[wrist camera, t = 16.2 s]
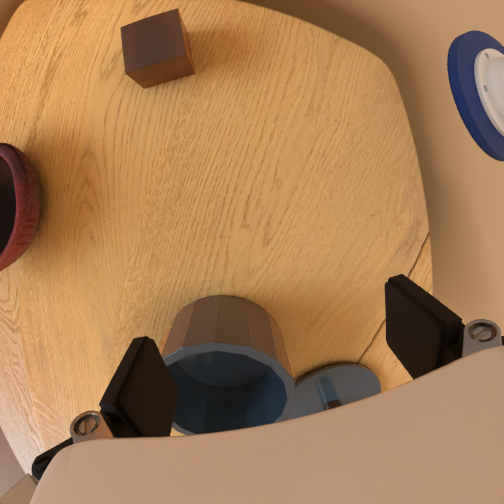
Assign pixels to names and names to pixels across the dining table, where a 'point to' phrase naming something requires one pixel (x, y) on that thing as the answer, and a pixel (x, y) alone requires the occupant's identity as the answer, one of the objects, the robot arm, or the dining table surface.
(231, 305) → the canister
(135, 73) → the block
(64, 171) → the dining table surface
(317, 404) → the lid
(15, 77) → the dining table surface
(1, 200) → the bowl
